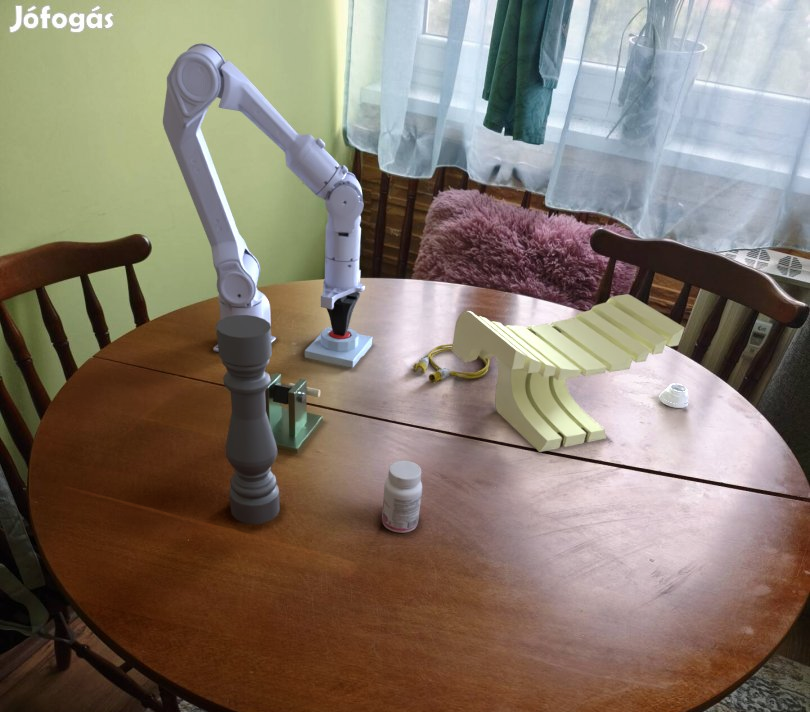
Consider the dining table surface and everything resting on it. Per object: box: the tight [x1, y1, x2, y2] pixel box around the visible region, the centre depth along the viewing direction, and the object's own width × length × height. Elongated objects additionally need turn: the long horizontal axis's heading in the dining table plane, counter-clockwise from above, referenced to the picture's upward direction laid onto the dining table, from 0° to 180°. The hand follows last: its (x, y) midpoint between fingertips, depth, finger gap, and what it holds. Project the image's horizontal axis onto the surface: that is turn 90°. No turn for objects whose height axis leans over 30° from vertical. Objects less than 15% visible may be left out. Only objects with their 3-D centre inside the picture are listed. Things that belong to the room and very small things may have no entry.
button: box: [330, 330, 350, 339], centre depth 124 cm, size 4×4×2 cm
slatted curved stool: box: [451, 294, 686, 453], centre depth 108 cm, size 30×16×18 cm, turn 115°
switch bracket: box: [265, 372, 324, 454], centre depth 101 cm, size 10×8×8 cm
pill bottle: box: [381, 460, 423, 534], centre depth 87 cm, size 5×5×8 cm
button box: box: [304, 326, 373, 369], centre depth 125 cm, size 11×9×4 cm
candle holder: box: [215, 315, 281, 525], centre depth 81 cm, size 6×6×25 cm
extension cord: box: [413, 343, 490, 384], centre depth 125 cm, size 12×16×2 cm
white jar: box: [658, 383, 690, 409], centre depth 122 cm, size 5×3×5 cm
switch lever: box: [273, 382, 321, 406], centre depth 103 cm, size 10×5×2 cm, turn 165°
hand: (339, 333), depth 124 cm, fingers closed, pressing on button
